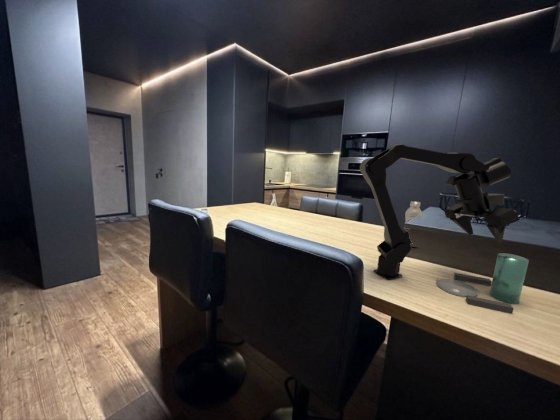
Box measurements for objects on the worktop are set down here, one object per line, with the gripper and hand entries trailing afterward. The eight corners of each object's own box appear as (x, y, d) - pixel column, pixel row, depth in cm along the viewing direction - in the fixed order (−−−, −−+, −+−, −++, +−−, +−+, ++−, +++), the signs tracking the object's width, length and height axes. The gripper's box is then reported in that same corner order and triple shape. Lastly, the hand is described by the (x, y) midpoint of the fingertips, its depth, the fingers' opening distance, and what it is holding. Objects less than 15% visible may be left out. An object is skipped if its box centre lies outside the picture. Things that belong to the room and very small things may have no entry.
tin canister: (511, 305, 62) (521, 263, 60) (484, 294, 68) (493, 254, 65) (523, 301, 65) (533, 260, 62) (497, 290, 70) (505, 252, 68)
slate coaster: (463, 300, 64) (463, 298, 64) (428, 283, 73) (428, 281, 73) (485, 293, 68) (486, 291, 68) (449, 277, 77) (450, 276, 77)
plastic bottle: (420, 248, 103) (427, 203, 99) (403, 247, 104) (409, 202, 100) (415, 244, 109) (421, 201, 105) (399, 242, 111) (405, 200, 107)
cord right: (467, 303, 63) (468, 298, 63) (465, 300, 65) (466, 295, 64) (512, 313, 59) (513, 308, 59) (508, 309, 61) (510, 304, 61)
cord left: (455, 279, 76) (455, 275, 76) (453, 276, 78) (454, 272, 78) (490, 286, 72) (491, 281, 72) (488, 283, 74) (489, 278, 74)
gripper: (527, 180, 63) (543, 232, 65) (465, 181, 81) (478, 222, 83) (491, 199, 62) (508, 250, 64) (437, 195, 81) (451, 236, 83)
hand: (485, 238), depth 74 cm, fingers open, 9 cm apart
